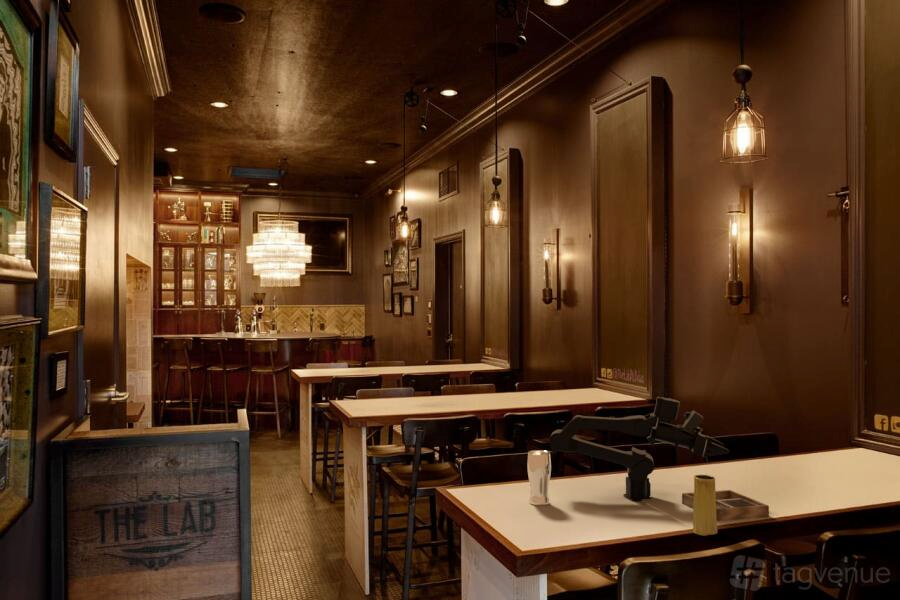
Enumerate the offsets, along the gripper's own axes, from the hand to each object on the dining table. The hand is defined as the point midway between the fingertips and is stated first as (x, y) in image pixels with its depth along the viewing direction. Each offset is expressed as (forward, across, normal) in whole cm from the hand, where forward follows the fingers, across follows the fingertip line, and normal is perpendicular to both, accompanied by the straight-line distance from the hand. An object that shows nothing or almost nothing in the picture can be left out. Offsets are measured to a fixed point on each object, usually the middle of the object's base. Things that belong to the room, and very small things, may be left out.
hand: (726, 448), depth 200 cm
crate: (+2, -9, +16) cm, 19 cm away
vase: (-6, -29, +18) cm, 35 cm away
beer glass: (-49, -12, +28) cm, 58 cm away
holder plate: (+5, -10, +15) cm, 19 cm away
